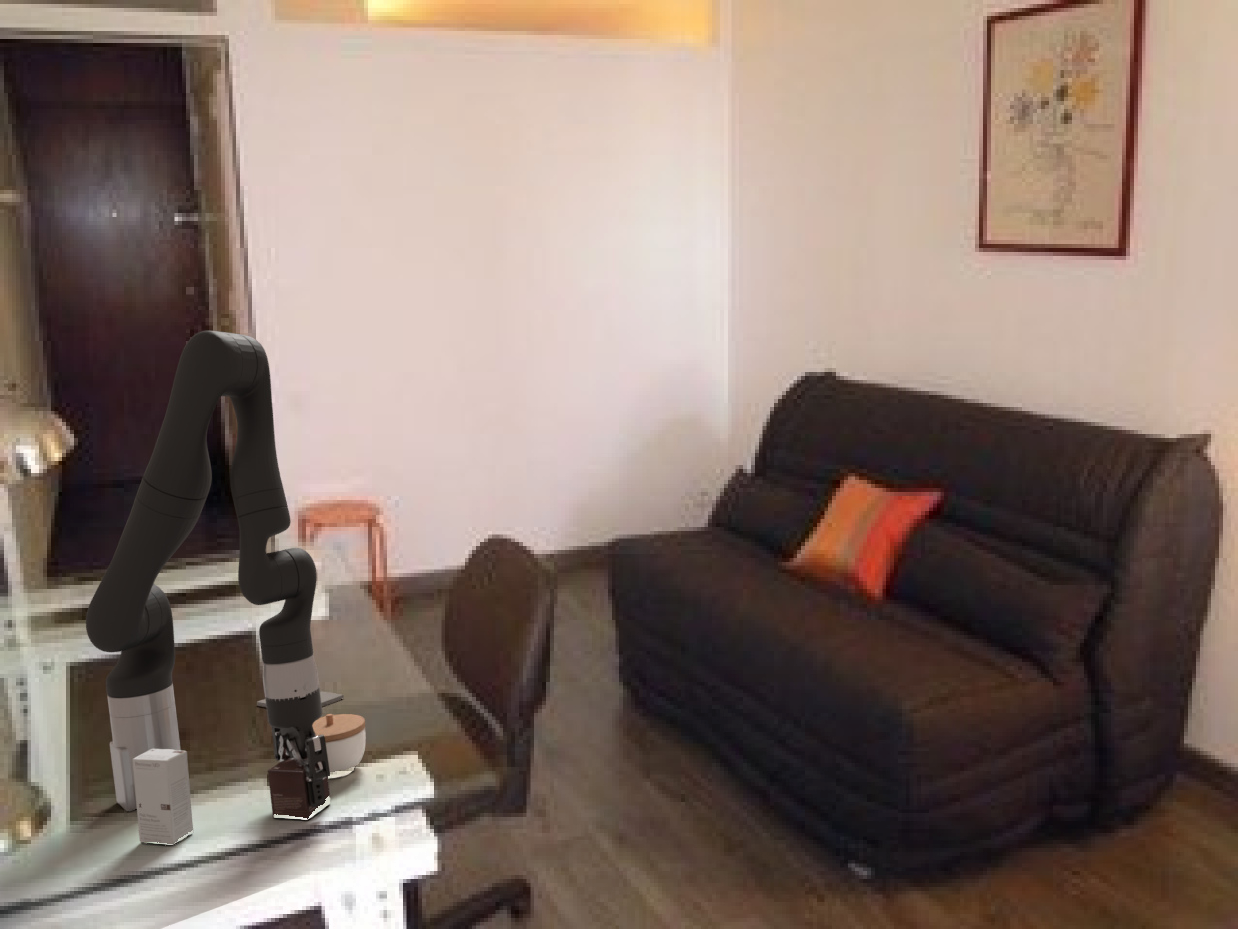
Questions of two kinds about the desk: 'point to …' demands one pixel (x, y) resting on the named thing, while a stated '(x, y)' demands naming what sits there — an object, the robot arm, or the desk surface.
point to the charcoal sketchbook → (325, 696)
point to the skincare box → (162, 795)
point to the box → (291, 789)
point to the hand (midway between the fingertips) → (305, 798)
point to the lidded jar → (342, 739)
